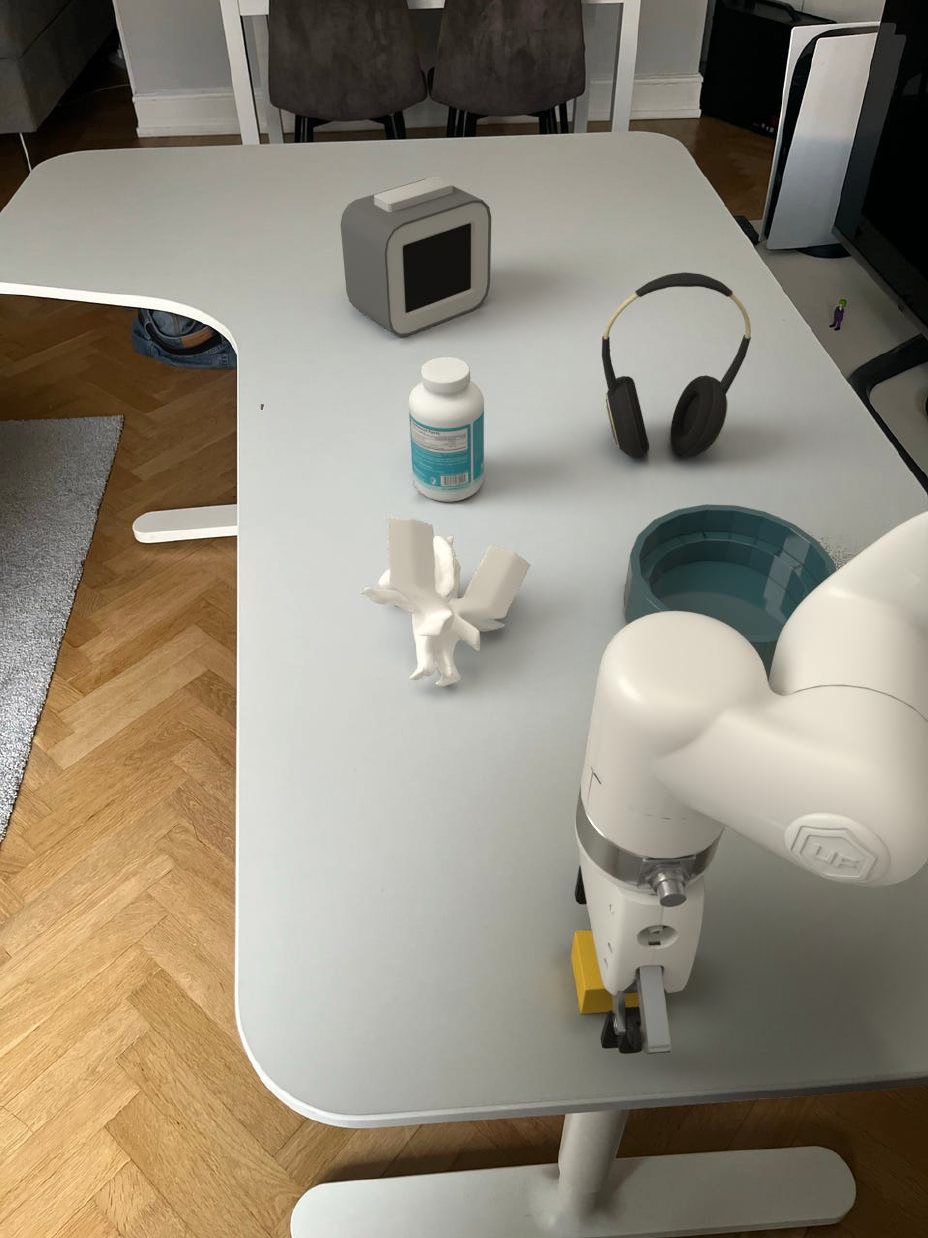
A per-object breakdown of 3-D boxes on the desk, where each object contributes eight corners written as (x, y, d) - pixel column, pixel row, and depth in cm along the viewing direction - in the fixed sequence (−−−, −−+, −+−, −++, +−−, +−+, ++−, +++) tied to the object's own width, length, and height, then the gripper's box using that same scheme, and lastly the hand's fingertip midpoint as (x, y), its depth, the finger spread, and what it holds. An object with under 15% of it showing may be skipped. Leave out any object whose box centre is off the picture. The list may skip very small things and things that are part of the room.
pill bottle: (449, 453, 108) (447, 340, 98) (498, 483, 104) (501, 368, 94) (397, 483, 104) (390, 368, 94) (446, 514, 100) (444, 398, 91)
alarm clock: (390, 343, 125) (382, 219, 114) (339, 309, 131) (328, 189, 120) (489, 304, 132) (491, 184, 121) (437, 274, 138) (435, 157, 127)
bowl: (854, 607, 90) (873, 557, 86) (765, 724, 81) (781, 674, 77) (684, 530, 98) (694, 481, 94) (585, 628, 89) (591, 578, 84)
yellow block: (570, 956, 67) (574, 930, 64) (644, 950, 67) (650, 924, 64) (580, 1015, 64) (584, 990, 61) (657, 1008, 64) (664, 984, 62)
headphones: (733, 472, 105) (775, 295, 91) (594, 473, 105) (613, 296, 91) (718, 427, 111) (755, 253, 97) (586, 427, 111) (604, 254, 97)
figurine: (460, 717, 91) (457, 579, 97) (541, 679, 82) (532, 531, 88) (314, 686, 83) (320, 538, 88) (388, 641, 74) (389, 480, 80)
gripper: (768, 968, 46) (701, 1102, 58) (680, 687, 58) (640, 847, 70) (608, 980, 46) (575, 1113, 58) (553, 694, 58) (535, 854, 70)
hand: (611, 966), depth 64 cm, fingers open, 9 cm apart
